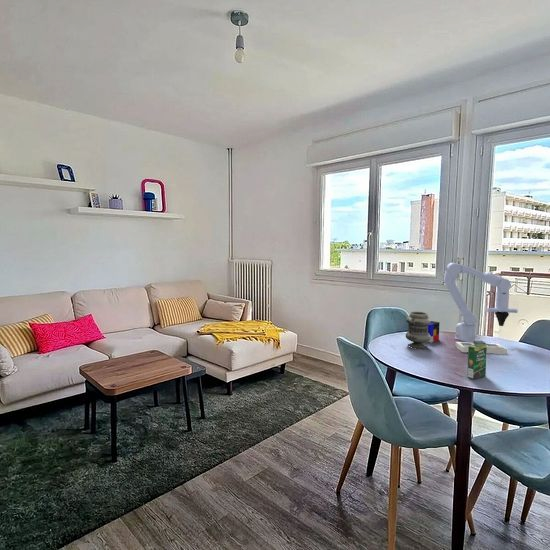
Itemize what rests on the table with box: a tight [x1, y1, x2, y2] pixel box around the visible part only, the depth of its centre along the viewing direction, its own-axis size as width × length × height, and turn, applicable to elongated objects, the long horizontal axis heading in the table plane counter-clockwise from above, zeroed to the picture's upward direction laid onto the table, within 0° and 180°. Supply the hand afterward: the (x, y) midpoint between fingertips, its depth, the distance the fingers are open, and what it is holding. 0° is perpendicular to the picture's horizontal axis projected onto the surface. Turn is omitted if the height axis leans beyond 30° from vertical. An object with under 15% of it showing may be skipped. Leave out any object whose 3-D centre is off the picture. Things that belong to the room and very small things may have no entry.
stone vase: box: [405, 310, 432, 350], centre depth 183 cm, size 12×12×18 cm
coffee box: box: [466, 343, 487, 380], centre depth 141 cm, size 8×3×13 cm, turn 117°
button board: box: [455, 341, 508, 355], centre depth 178 cm, size 20×10×3 cm, turn 81°
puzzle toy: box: [427, 320, 440, 343], centre depth 198 cm, size 10×10×10 cm
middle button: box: [473, 340, 487, 345], centre depth 179 cm, size 4×4×2 cm
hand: (501, 325), depth 190 cm, fingers closed
